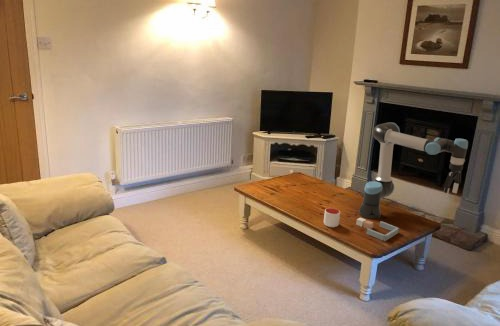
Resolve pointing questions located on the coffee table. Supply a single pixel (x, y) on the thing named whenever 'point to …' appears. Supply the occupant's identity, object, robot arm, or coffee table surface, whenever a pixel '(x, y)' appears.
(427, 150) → the robot arm
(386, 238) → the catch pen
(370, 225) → the tile front
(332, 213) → the cup
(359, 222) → the tile rear
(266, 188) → the coffee table surface
